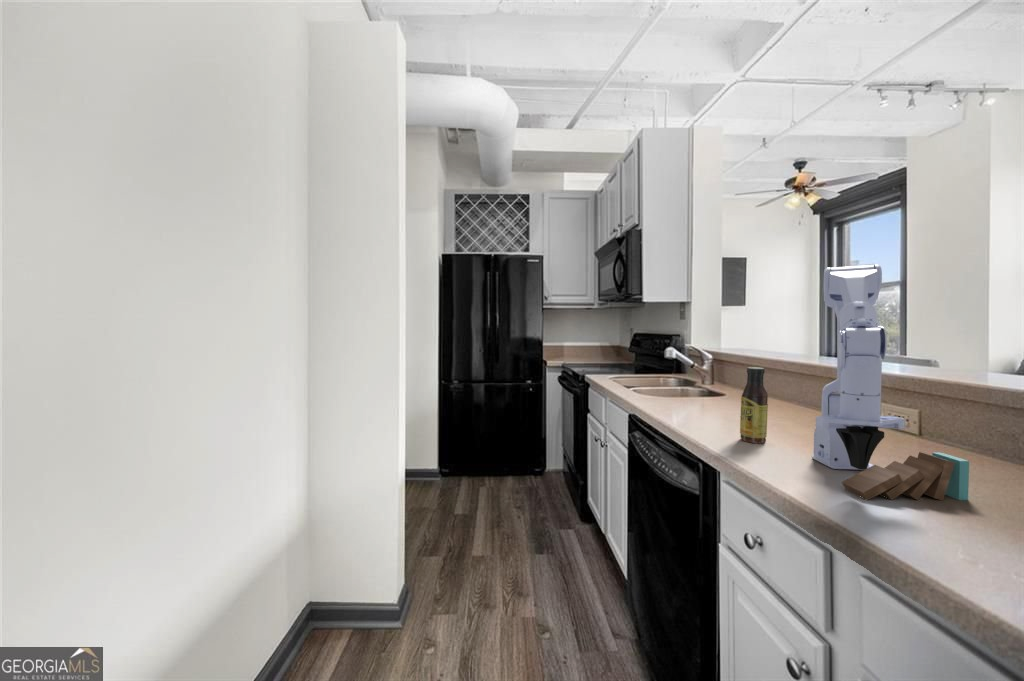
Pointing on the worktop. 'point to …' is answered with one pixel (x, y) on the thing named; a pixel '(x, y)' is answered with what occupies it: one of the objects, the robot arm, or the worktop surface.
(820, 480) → the worktop surface
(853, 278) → the robot arm
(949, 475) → the domino
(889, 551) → the worktop surface
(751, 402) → the sauce bottle
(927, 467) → the domino
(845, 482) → the domino
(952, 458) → the domino
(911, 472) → the domino
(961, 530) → the worktop surface
